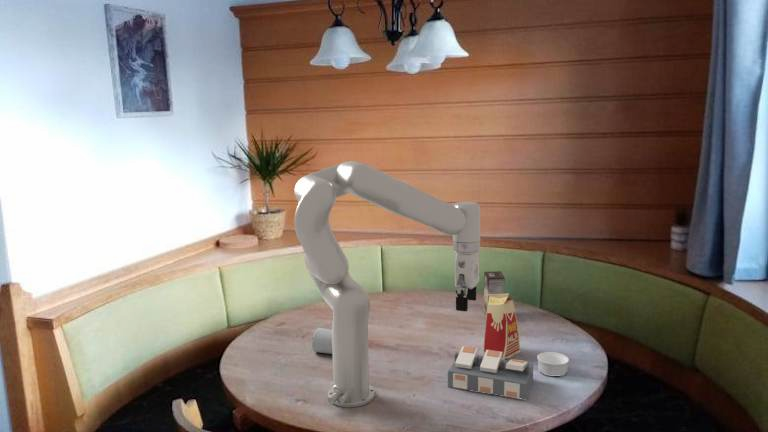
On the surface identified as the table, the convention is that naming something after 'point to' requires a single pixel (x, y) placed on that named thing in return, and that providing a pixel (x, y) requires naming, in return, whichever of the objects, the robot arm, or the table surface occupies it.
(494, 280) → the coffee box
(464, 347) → the rocker
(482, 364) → the block
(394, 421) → the table surface
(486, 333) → the milk carton
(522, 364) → the rocker
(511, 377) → the switch unit
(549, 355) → the ramekin
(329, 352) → the ceramic mug
